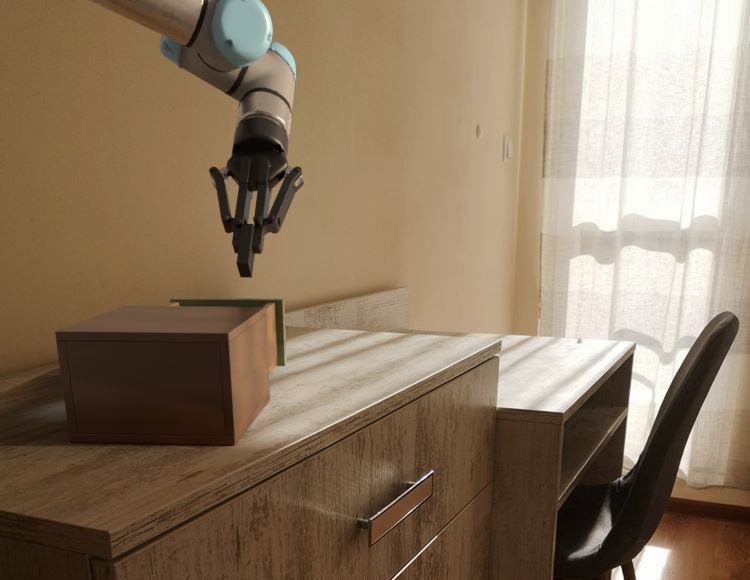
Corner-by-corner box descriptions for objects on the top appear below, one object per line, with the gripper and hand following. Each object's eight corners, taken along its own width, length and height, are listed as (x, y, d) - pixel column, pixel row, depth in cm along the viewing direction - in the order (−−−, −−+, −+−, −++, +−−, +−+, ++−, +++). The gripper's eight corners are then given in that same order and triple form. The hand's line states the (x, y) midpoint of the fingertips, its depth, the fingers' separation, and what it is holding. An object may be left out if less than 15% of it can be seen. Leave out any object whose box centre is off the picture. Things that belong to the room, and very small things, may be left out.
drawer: (187, 356, 104) (182, 293, 101) (292, 357, 103) (290, 294, 101) (135, 391, 86) (128, 315, 83) (262, 393, 85) (259, 317, 82)
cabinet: (133, 398, 87) (124, 305, 83) (270, 400, 86) (265, 307, 83) (69, 442, 71) (54, 331, 68) (235, 445, 70) (228, 333, 67)
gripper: (311, 157, 118) (298, 289, 108) (221, 158, 118) (200, 289, 109) (305, 113, 111) (290, 250, 101) (210, 114, 112) (186, 250, 102)
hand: (244, 270), depth 105 cm, fingers closed
